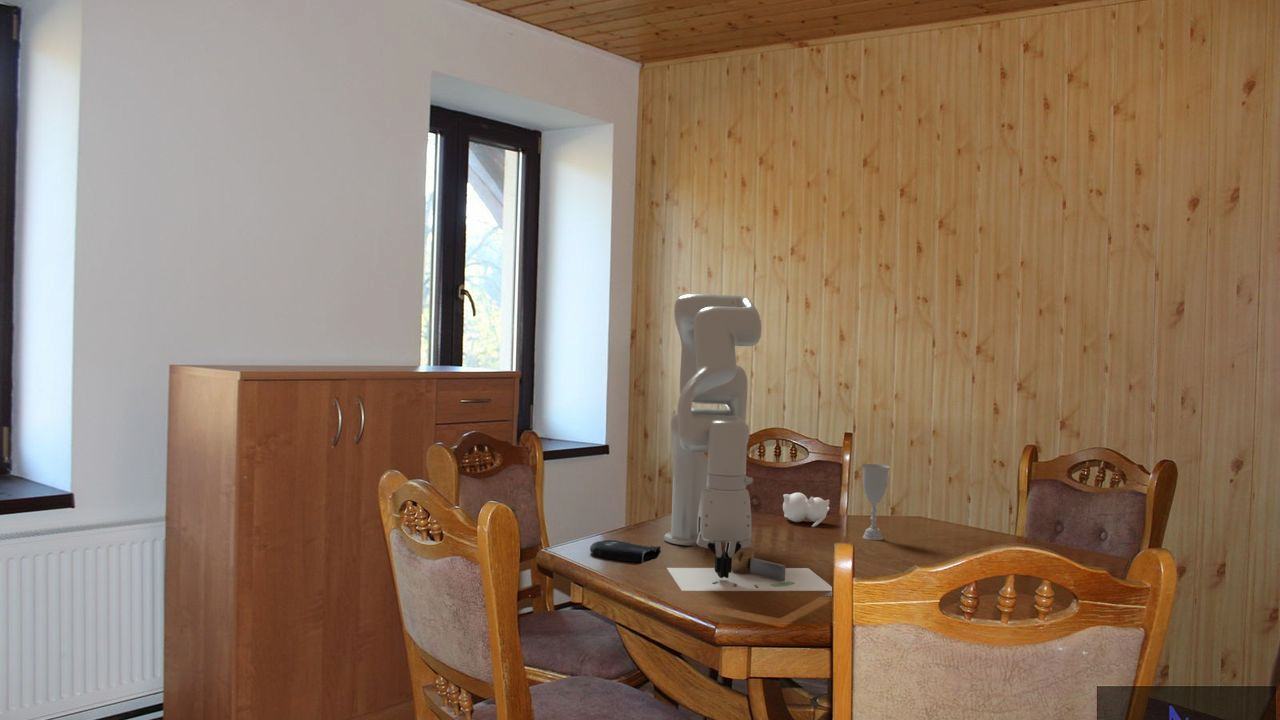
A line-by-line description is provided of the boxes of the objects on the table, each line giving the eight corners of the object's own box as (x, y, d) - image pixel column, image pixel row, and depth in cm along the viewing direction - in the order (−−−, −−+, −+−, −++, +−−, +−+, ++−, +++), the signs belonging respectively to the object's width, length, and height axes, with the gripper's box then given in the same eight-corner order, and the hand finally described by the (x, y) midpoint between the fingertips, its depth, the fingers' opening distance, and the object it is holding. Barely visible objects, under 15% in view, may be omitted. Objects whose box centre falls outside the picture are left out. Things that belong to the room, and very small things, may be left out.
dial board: (666, 573, 206) (666, 567, 206) (808, 573, 210) (808, 567, 210) (681, 597, 188) (681, 589, 188) (836, 596, 192) (836, 589, 192)
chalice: (893, 540, 248) (896, 467, 248) (869, 541, 246) (872, 468, 245) (875, 534, 255) (878, 463, 255) (852, 535, 253) (855, 464, 252)
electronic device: (661, 564, 222) (602, 546, 228) (664, 540, 221) (604, 523, 227) (641, 578, 214) (581, 559, 220) (644, 553, 213) (583, 535, 219)
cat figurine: (830, 488, 267) (785, 483, 271) (824, 515, 259) (777, 509, 263) (830, 513, 272) (786, 508, 276) (824, 540, 264) (779, 534, 267)
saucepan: (726, 570, 205) (727, 545, 204) (740, 567, 208) (741, 543, 207) (776, 582, 195) (777, 557, 195) (790, 579, 199) (791, 554, 198)
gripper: (758, 480, 201) (755, 571, 202) (684, 479, 199) (681, 571, 199) (768, 486, 194) (764, 581, 194) (692, 485, 192) (688, 581, 192)
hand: (722, 576), depth 197 cm, fingers closed
